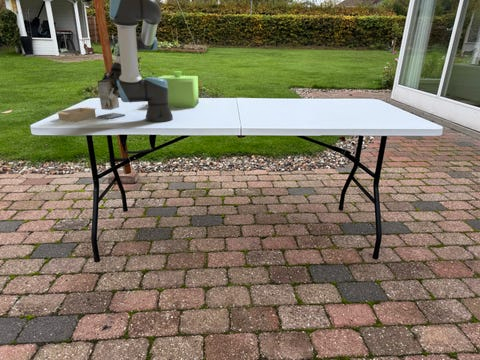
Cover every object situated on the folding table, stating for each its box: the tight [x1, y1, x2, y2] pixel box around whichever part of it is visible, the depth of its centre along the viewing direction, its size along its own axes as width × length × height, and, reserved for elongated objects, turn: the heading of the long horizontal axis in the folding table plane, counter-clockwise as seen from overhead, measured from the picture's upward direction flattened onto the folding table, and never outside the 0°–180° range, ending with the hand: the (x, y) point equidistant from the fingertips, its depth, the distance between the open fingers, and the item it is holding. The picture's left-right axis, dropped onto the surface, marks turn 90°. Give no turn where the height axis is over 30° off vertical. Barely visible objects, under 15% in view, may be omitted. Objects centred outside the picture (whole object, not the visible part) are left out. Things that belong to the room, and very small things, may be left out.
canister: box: [157, 70, 200, 109], centre depth 242 cm, size 25×21×23 cm
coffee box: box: [97, 79, 120, 111], centre depth 200 cm, size 9×6×16 cm
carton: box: [55, 106, 97, 123], centre depth 199 cm, size 13×20×4 cm, turn 152°
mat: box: [96, 112, 126, 120], centre depth 204 cm, size 10×12×1 cm
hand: (104, 98), depth 198 cm, fingers closed on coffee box, 7 cm apart
